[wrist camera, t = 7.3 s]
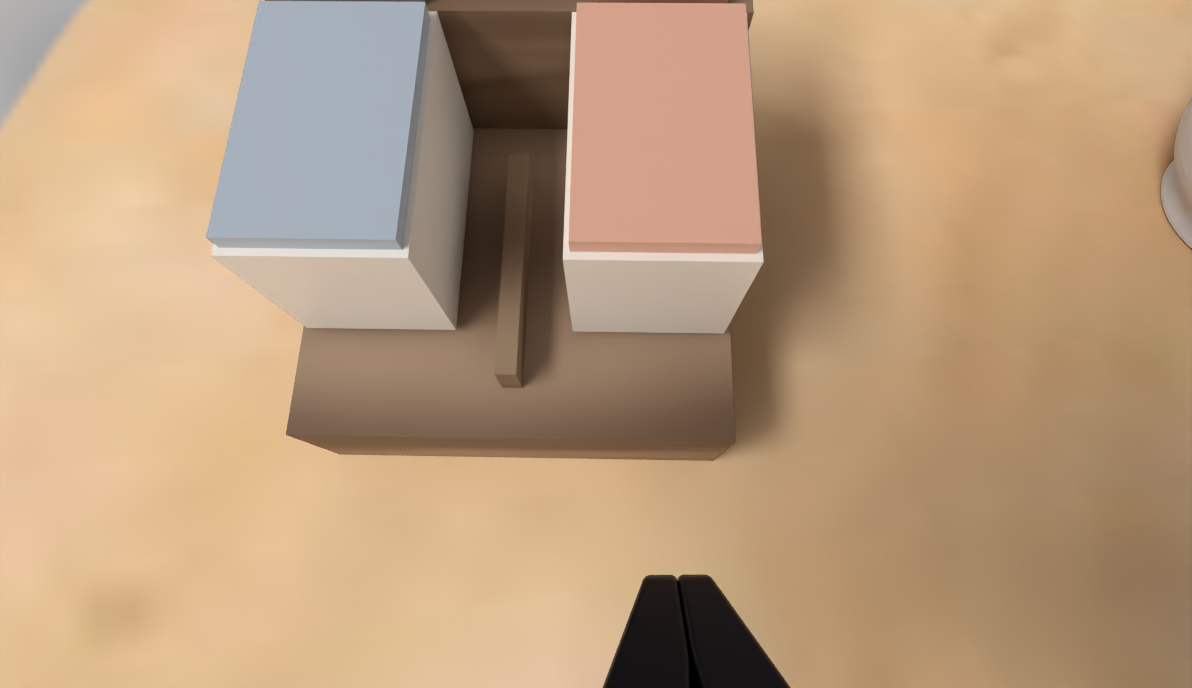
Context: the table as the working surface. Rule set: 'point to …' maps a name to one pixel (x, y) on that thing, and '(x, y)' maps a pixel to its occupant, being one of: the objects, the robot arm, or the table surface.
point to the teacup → (1180, 181)
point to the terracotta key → (660, 168)
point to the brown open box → (515, 298)
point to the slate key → (347, 167)
